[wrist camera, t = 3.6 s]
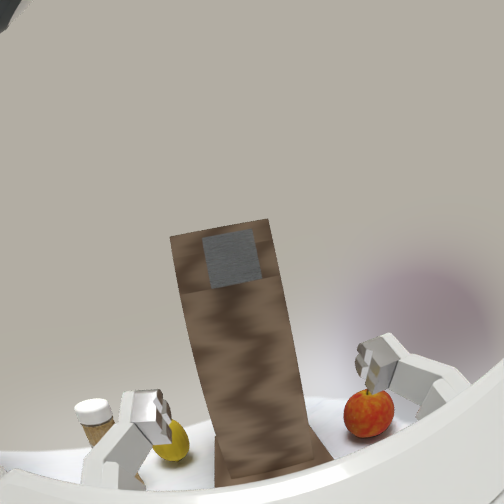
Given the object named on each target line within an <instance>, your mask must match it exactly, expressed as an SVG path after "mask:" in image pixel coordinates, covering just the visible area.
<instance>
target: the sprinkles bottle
mask: <svg viewBox="0 0 504 504" xmlns="http://www.w3.org/2000/svg"><path fill="white" fill-rule="evenodd" d="M74 409H75V412H76V415H77V418H78V420H79V422H80V424H81V425H82V426H83V428H84V431H85V433H86V436H87V438H88V440H89V443H90V445H91V447H92V449H93V448H94V446H95V445H96V444H97V443H98V442H99V441H100V440H101V438H102V437H103V436H104V435H105V434H106V433H107V432H108V431H109V429H110V428H111V427H112V426H113V425H114V424H115V422H114V420H113V416H112V411H111V408H110V406H109V403H108V401H107V400H105V399H89V400H85V401H82V402H80V403H78V404H77V405H76V406H75V408H74ZM135 478H136V479H138V480H139V481H140V482H142V483H143V484H144V482H143V480H142V479H141V478H140V477H139V475H138V473H136V475H135Z"/></svg>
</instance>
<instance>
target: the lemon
mask: <svg viewBox="0 0 504 504" xmlns="http://www.w3.org/2000/svg"><path fill="white" fill-rule="evenodd" d="M169 427H170V428H171V430H172V444H162V445H152V446H153V447H152V448H153V449H154V451H155V452H156V453H157V454H158V455H159V456H160V457H161V458H163V459H165V460H169V461H179V460H180V459H182V458H184V457H185V456H186V454H187V453H188V451H189V439H188V436H187V434H186V432H185V430H184V429H183V427H182V426H181V425H180V424H179V423H178V422H176V421H175V420H173V419H172V422H171V423H170V424H169Z"/></svg>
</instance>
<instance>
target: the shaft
mask: <svg viewBox="0 0 504 504" xmlns="http://www.w3.org/2000/svg"><path fill="white" fill-rule="evenodd" d="M202 242H203V248H204V253H205V259H206V264H207V269H208V274H209V279H210V284H211V289H214V288H219V287H224V286H230V285H235V284H240V283H245V282H249V281H254V280H258V279H262V274H261V269H260V265H259V260H258V255H257V250H256V245H255V241H254V236H253V231H252V229H247V230H241V231H236V232H230V233H225V234H219V235H214V236H209V237H203V238H202Z"/></svg>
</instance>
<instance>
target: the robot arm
mask: <svg viewBox="0 0 504 504" xmlns="http://www.w3.org/2000/svg"><path fill="white" fill-rule="evenodd" d="M32 1H33V0H0V33H1V32H3V31H4V30H6V29H7V28H8V26H9V25H10V24H11V23H12V22H13V21H14V20H15V19H16V18H17V17H18V16H19V15H20V14H21V13H22V12H23V11H24V10H25V9H26V8H27V7H28V5H29V4H30V3H31V2H32ZM357 351H358V352H359V354H358V355H357V357H356V360H355V366H356V370H357V373H358V374H359V376H360V377H361V378H363V379H366V382H365V385H366V387H367V388H368V390H369V391H370V393H371V394H372V395H373V394H376V393H378V392H381V391H383V390H386V389H388V388H389V390H391V391H393V392H395V393H397V394H398V395H401V396H402V397H404V398H406V399H408V400H410V401H412V402H414V403H416V404H418V405H420V406H421V407H420V409H419V410H418V412H417V414H416V419H417V420H418V421H417V422H415V423H413V424H412V425H410V426H408V427H406V428H404V429H403V430H401V431H399V432H397V433H395V434H393V435H391V436H389V437H387V438H385V439H383V440H381V441H379V442H376V443H374V444H372V445H370V446H368V447H365V448H363V449H361V450H358V451H356V452H354V453H351V454H349V455H346V456H343V457H341V458H338V459H335V460H333V461H330V462H327V463H324V464H321V465H318V466H315V467H312V468H308V469H305V470H302V471H298V472H295V473H291V474H287V475H283V476H279V477H275V478H271V479H266V480H261V481H256V482H251V483H246V484H240V485H233V486H226V487H219V488H210V489H199V490H183V491H146V486H145V485H144V484H143V483H142V482H140V481H139V480H138V479H136V478H135V475H136V473H137V472H138V470H139V468H140V467H141V465H142V464H143V462H144V460H145V459H146V457H147V455H148V454H149V452H150V450H151V449H152V447H153V446H152V445H162V444H172V430H171V428H170V427H169V424H170V423H171V422H172V418H171V411H170V407H169V404H168V403H167V401H166V400H164V399H163V394H162V392H161V390H160V389H154V390H138V391H125V392H124V393H123V394H122V400H121V406H120V412H119V420H118V423H115V424H114V425H113V426H112V427H111V428H110V429H109V431H108V432H107V433H106V434H105V435H104V436H103V437H102V438H101V440H100V441H99V442H98V443H97V444H96V445H95V446H94V448H93V449H92V450H91V451H90V452H89V453H88V454H87V455H86V457H85V458H84V461H83V468H82V475H81V484H76V483H70V482H65V481H61V480H56V479H52V478H48V477H44V476H41V475H37V474H34V473H30V472H27V471H24V470H21V469H12V470H10V471H9V472H7V471H6V470H5V469H4V467H3V466H0V504H504V358H503V359H502V360H501V361H500V362H499V363H498V364H497V365H495V366H494V367H493V368H492V369H491V370H490V371H488V372H487V373H486V374H485V375H484V376H482V377H481V378H480V379H479V380H478V381H476V382H475V383H474V384H472V385H471V384H470V383H469V381H468V380H467V379H466V378H465V377H464V376H463V375H462V374H461V373H460V372H459V371H458V370H457V368H455V367H451V366H449V365H446V364H443V363H440V362H437V361H433V360H431V359H428V358H425V357H422V356H419V355H416V354H410V353H409V352H408V351H407V350H406V349H405V348H404V347H403V346H402V345H401V343H400V342H399V341H398V340H397V339H396V338H395V337H394V336H393V335H392V334H391V333H387V334H384V335H381V336H379V337H376V338H373V339H371V340H368V341H365V342H363V343H360V344H359V345H358V348H357Z"/></svg>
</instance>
